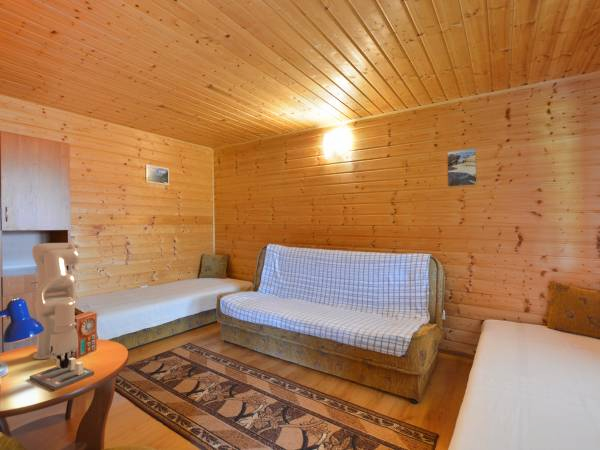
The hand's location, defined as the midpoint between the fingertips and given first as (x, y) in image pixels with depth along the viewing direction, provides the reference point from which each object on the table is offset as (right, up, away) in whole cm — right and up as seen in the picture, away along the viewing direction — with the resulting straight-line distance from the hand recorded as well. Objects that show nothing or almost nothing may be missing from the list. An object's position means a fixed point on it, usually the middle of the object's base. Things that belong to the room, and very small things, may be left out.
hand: (64, 367), depth 144 cm
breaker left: (-6, -2, +5) cm, 8 cm away
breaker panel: (0, -4, -1) cm, 4 cm away
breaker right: (+8, -2, -1) cm, 8 cm away
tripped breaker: (+1, -2, +3) cm, 4 cm away
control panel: (-8, -4, +24) cm, 26 cm away
